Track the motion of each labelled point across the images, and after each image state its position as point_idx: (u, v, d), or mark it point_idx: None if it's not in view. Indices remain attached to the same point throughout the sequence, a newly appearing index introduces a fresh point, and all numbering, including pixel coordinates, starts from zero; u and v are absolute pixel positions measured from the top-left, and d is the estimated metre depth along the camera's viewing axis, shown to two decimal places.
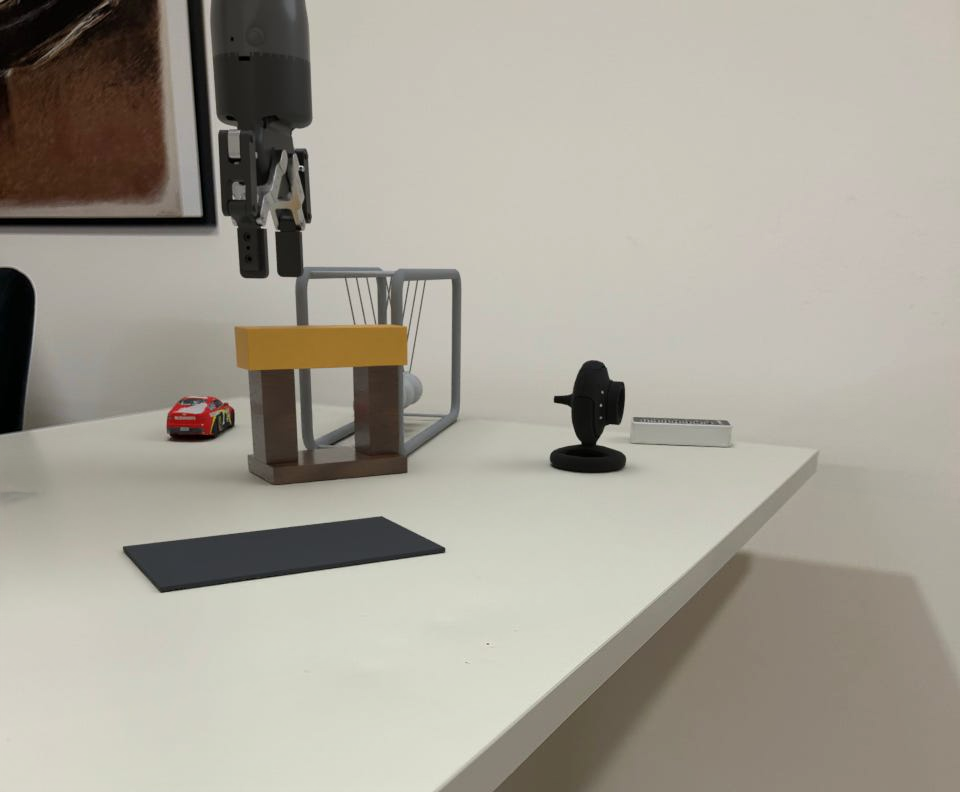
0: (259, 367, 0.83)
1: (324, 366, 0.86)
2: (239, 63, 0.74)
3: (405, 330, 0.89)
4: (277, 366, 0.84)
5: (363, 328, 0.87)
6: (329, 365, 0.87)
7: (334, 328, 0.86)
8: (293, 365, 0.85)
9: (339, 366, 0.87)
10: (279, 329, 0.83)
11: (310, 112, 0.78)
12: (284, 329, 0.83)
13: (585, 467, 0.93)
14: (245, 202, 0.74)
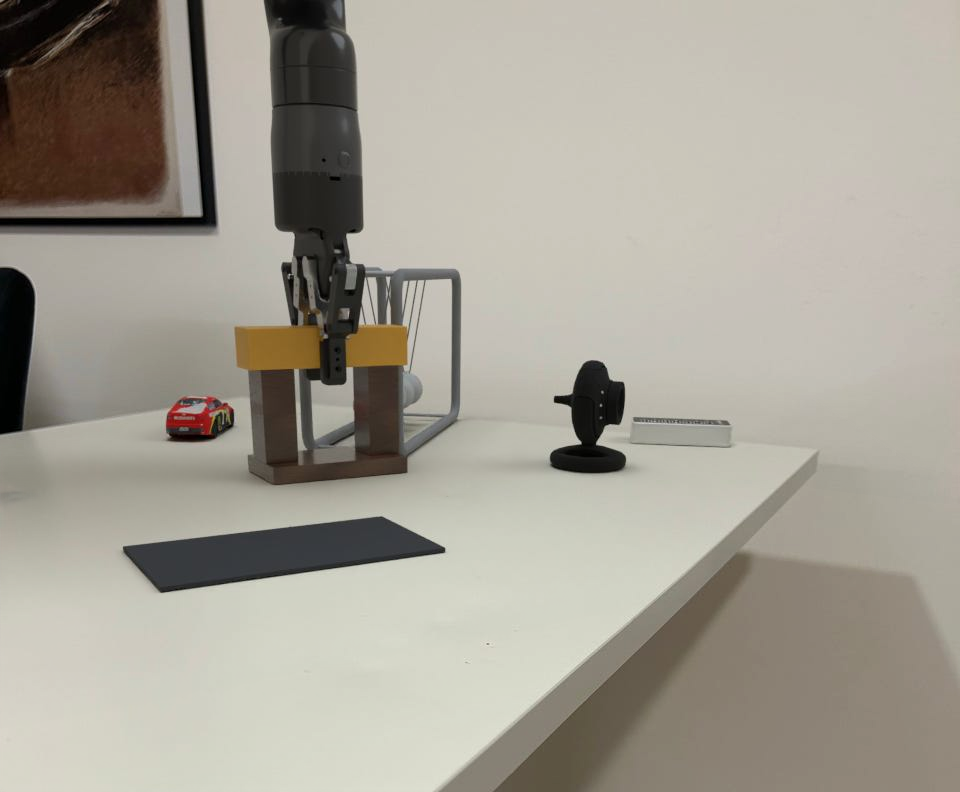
0: (259, 367, 0.83)
1: None
2: (330, 182, 0.80)
3: (405, 330, 0.89)
4: (277, 366, 0.84)
5: (363, 328, 0.87)
6: None
7: None
8: (293, 365, 0.85)
9: None
10: (279, 329, 0.83)
11: None
12: (284, 329, 0.83)
13: (585, 467, 0.93)
14: (351, 322, 0.83)
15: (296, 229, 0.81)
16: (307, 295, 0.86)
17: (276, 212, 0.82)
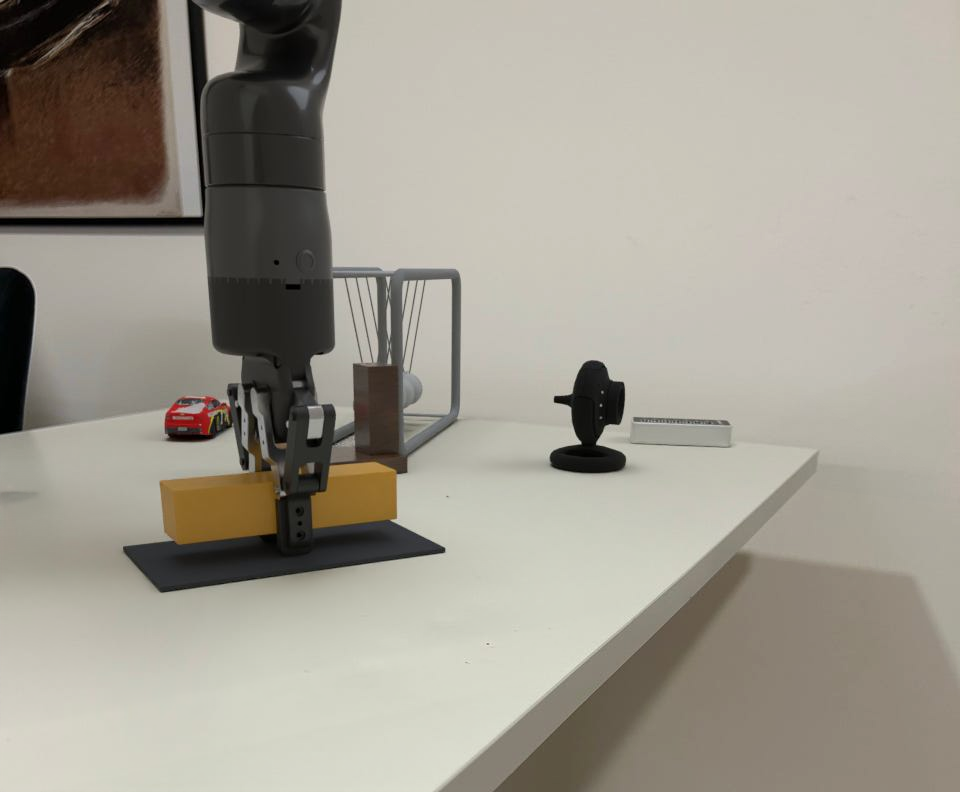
0: (192, 539, 0.61)
1: None
2: (286, 292, 0.57)
3: (394, 475, 0.66)
4: (217, 536, 0.62)
5: (337, 477, 0.64)
6: None
7: None
8: (240, 533, 0.62)
9: None
10: (219, 488, 0.61)
11: None
12: (227, 487, 0.61)
13: (585, 467, 0.93)
14: (318, 478, 0.60)
15: (240, 354, 0.58)
16: None
17: (213, 329, 0.59)
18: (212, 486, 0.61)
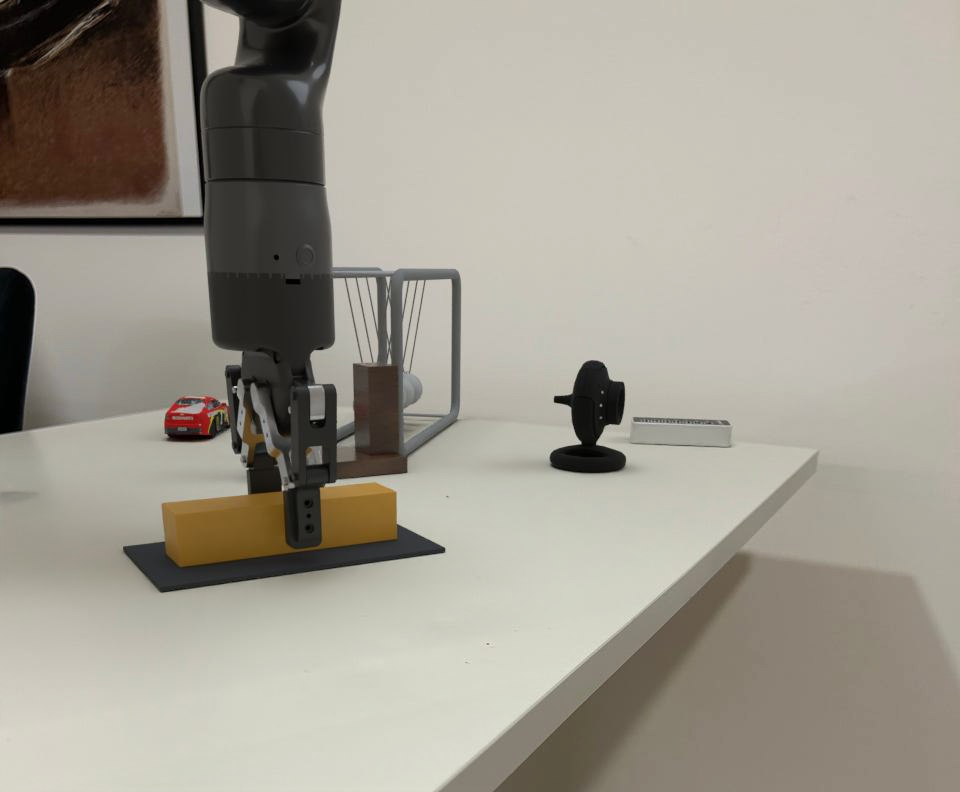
0: (194, 562, 0.61)
1: (284, 552, 0.64)
2: (286, 287, 0.57)
3: (394, 496, 0.67)
4: (219, 558, 0.62)
5: (337, 499, 0.65)
6: (291, 550, 0.64)
7: None
8: (241, 555, 0.63)
9: (305, 550, 0.65)
10: (221, 510, 0.61)
11: None
12: (228, 510, 0.61)
13: (585, 467, 0.93)
14: (327, 469, 0.59)
15: (240, 349, 0.58)
16: (259, 430, 0.63)
17: (213, 324, 0.59)
18: (213, 509, 0.61)
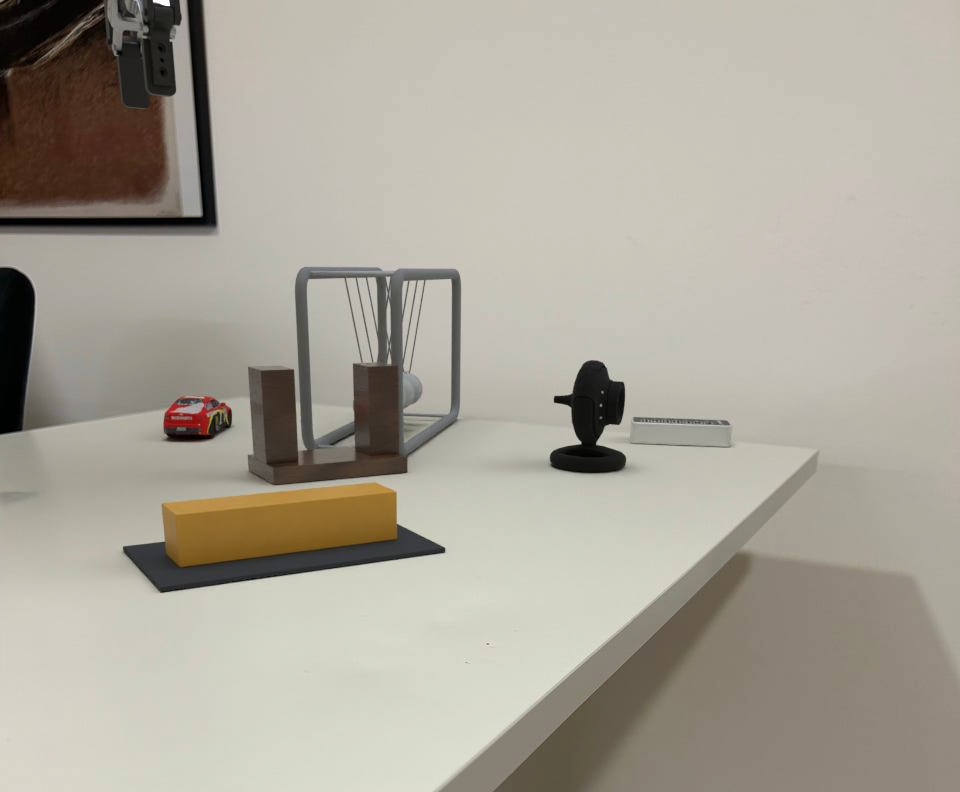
0: (194, 562, 0.61)
1: (284, 552, 0.64)
2: None
3: (394, 496, 0.67)
4: (219, 558, 0.62)
5: (337, 499, 0.65)
6: (291, 550, 0.64)
7: (297, 502, 0.64)
8: (241, 555, 0.63)
9: (305, 550, 0.65)
10: (221, 510, 0.61)
11: None
12: (228, 510, 0.61)
13: (585, 467, 0.93)
14: (173, 8, 0.73)
15: None
16: (124, 11, 0.78)
17: None
18: (213, 509, 0.61)
